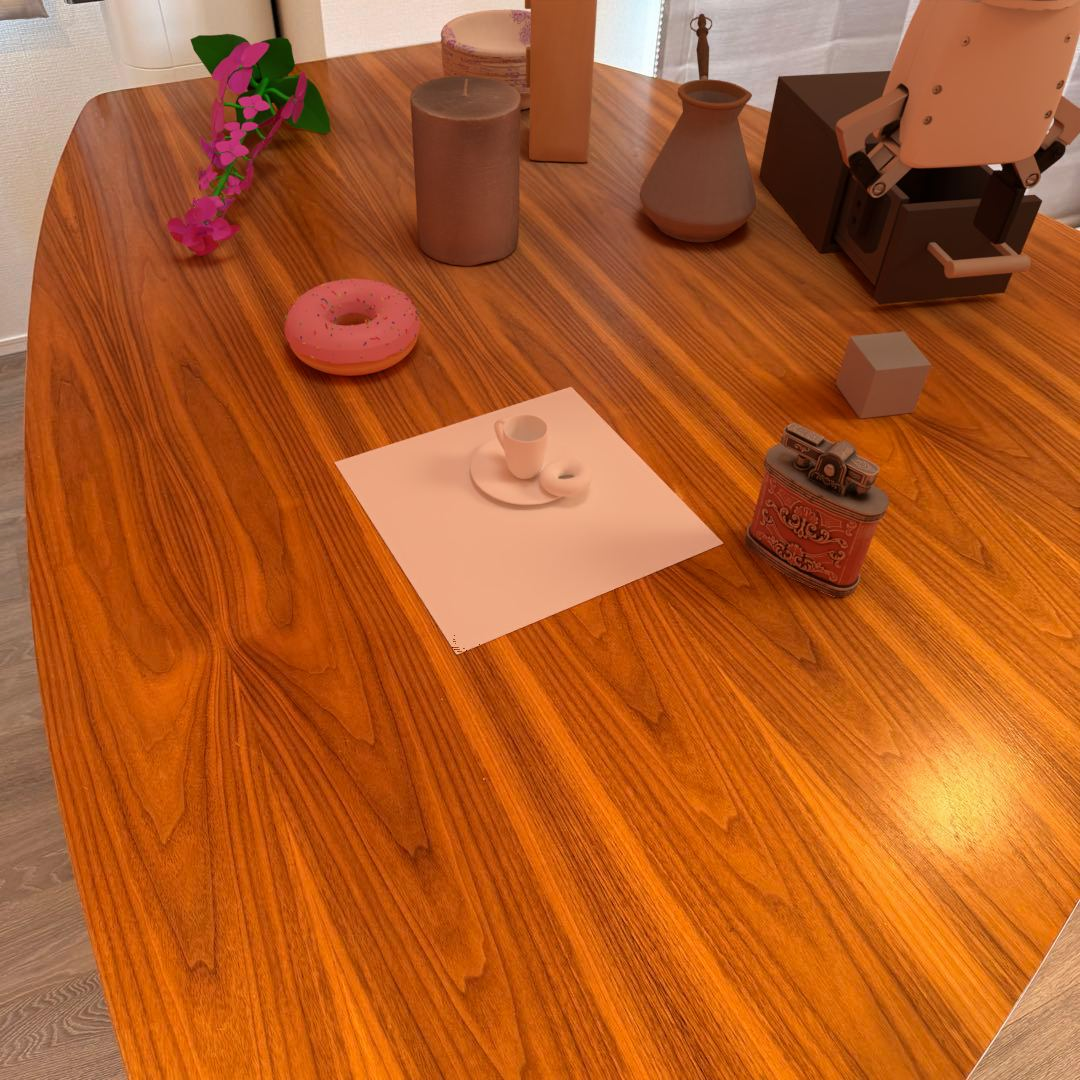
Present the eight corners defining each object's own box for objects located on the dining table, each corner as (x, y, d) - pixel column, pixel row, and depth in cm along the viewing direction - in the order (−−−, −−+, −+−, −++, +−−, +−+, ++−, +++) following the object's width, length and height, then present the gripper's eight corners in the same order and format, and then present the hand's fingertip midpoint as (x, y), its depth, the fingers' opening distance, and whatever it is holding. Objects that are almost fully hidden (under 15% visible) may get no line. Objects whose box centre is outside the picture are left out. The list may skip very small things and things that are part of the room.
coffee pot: (758, 255, 93) (791, 94, 83) (638, 249, 94) (656, 88, 83) (734, 160, 109) (759, 13, 98) (631, 155, 109) (645, 9, 98)
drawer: (1033, 321, 85) (1075, 227, 79) (903, 334, 83) (935, 238, 77) (923, 213, 99) (951, 126, 92) (809, 222, 97) (830, 133, 90)
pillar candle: (442, 211, 98) (435, 53, 87) (533, 229, 96) (537, 69, 85) (400, 255, 91) (388, 91, 81) (497, 276, 89) (497, 109, 79)
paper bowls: (417, 98, 119) (413, 27, 113) (500, 65, 127) (500, -1, 121) (511, 134, 112) (511, 61, 106) (592, 97, 120) (596, 28, 115)
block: (887, 378, 80) (903, 330, 76) (913, 413, 76) (932, 364, 73) (835, 384, 79) (849, 336, 76) (859, 419, 76) (875, 370, 72)
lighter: (866, 578, 64) (912, 462, 56) (840, 607, 62) (884, 490, 55) (761, 520, 67) (792, 403, 60) (734, 545, 65) (762, 428, 58)
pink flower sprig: (319, 146, 117) (271, 326, 94) (182, 73, 110) (94, 248, 87) (361, 56, 109) (319, 229, 86) (216, -28, 102) (129, 135, 79)
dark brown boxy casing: (947, 242, 96) (985, 136, 89) (820, 253, 94) (847, 144, 87) (873, 170, 108) (901, 69, 100) (758, 177, 106) (778, 75, 98)
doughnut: (317, 400, 75) (310, 355, 72) (269, 331, 82) (260, 287, 79) (444, 362, 79) (442, 317, 76) (388, 298, 86) (384, 255, 83)
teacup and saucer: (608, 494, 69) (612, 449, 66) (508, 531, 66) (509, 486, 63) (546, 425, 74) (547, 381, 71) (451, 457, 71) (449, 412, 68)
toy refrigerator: (524, 131, 112) (528, -79, 98) (588, 134, 112) (601, -76, 97) (521, 161, 107) (524, -57, 92) (588, 164, 107) (601, -54, 92)
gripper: (1111, -57, 60) (1006, 207, 72) (852, -53, 57) (788, 222, 69) (1192, -21, 55) (1065, 257, 67) (912, -15, 52) (832, 275, 64)
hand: (924, 239), depth 68 cm, fingers open, 9 cm apart
